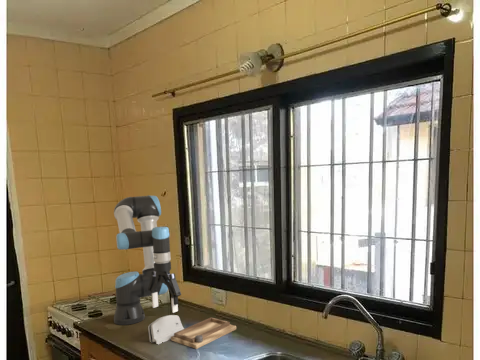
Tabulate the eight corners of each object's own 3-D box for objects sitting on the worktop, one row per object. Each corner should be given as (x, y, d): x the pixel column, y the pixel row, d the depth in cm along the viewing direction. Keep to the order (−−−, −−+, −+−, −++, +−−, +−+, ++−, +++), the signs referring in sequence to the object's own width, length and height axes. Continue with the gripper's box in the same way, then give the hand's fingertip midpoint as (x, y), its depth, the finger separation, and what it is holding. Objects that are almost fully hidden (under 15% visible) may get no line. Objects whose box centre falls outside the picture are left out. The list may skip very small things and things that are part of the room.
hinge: (156, 345, 172) (150, 321, 174) (150, 346, 175) (144, 323, 177) (186, 332, 185) (180, 310, 187) (180, 333, 188) (174, 312, 190)
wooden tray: (171, 340, 177) (170, 332, 176) (211, 322, 196) (210, 315, 196) (196, 348, 166) (196, 340, 166) (236, 329, 185) (235, 321, 185)
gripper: (138, 261, 186) (141, 307, 186) (174, 265, 170) (177, 316, 170) (151, 258, 191) (154, 302, 191) (187, 262, 175) (190, 311, 175)
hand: (165, 309), depth 180 cm, fingers open, 13 cm apart
